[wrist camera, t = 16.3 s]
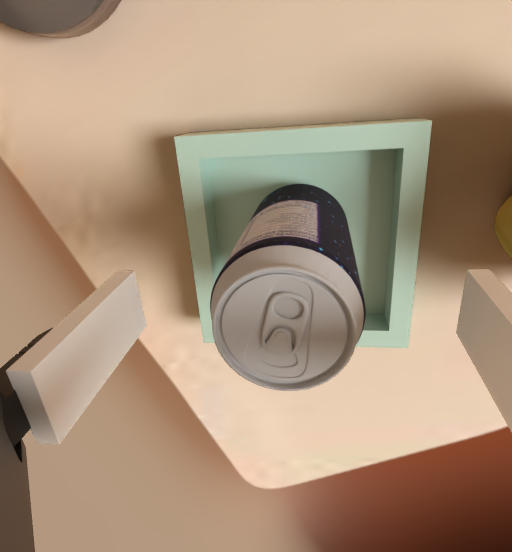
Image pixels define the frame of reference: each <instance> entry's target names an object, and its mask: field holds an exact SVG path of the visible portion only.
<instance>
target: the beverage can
mask: <svg viewBox="0 0 512 552" xmlns="http://www.w3.org/2000/svg"><path fill="white" fill-rule="evenodd" d="M210 313H211V319H212V332H213V337H214V341H215V344H216V346H217V349H218V351H219V353H220V354H221V356H222V357H223V359H224V360H225V362H226V363H227V364H228V365H229V366H230V367H231V368H232V369H233V370H234V371H235V372H236V373H238V374H239V375H240V376H242V377H243V378H245V379H246V380H248V381H250V382H252V383H254V384H256V385H259V386H262V387H265V388H269V389H274V390H281V391H298V390H304V389H309V388H312V387H316V386H318V385H321V384H323V383H325V382H327V381H329V380H330V379H332V378H333V377H335V376H336V375H337V374H338V373H339V372H340V371H341V370H342V369H343V368H344V367H345V365H346V364H347V363H348V362H349V360H350V358H351V356H352V354H353V352H354V349H355V346H356V344H357V343H358V341H359V339H360V337H361V334H362V332H363V328H364V324H365V317H366V309H365V301H364V296H363V292H362V287H361V282H360V278H359V273H358V268H357V264H356V259H355V254H354V250H353V245H352V240H351V236H350V231H349V227H348V222H347V218H346V215H345V212H344V210H343V208H342V207H341V205H340V204H339V202H338V201H337V200H336V199H335V198H334V197H333V196H332V195H331V194H329V193H328V192H327V191H325V190H323V189H321V188H319V187H316V186H313V185H308V184H291V185H287V186H283V187H281V188H278V189H276V190H275V191H273V192H271V193H270V194H269V195H268V196H266V197H265V198H264V199H263V201H262V202H261V203H260V204H259V206H258V208H257V209H256V211H255V213H254V214H253V216H252V218H251V220H250V221H249V223H248V225H247V227H246V228H245V230H244V232H243V234H242V235H241V237H240V239H239V240H238V242H237V244H236V246H235V247H234V249H233V251H232V253H231V254H230V256H229V258H228V260H227V261H226V263H225V265H224V266H223V268H222V270H221V272H220V273H219V275H218V277H217V279H216V281H215V283H214V286H213V289H212V293H211V299H210Z"/></svg>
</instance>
